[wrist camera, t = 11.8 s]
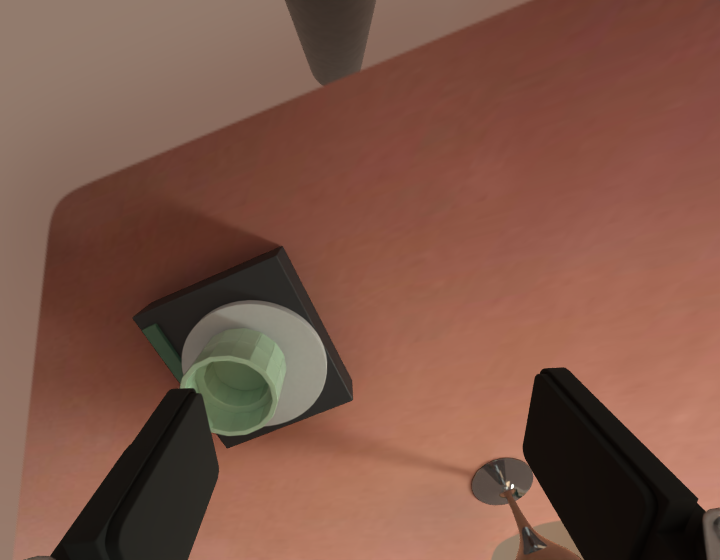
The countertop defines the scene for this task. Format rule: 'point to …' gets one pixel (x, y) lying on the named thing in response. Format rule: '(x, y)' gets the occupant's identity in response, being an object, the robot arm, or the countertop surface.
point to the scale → (259, 313)
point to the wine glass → (516, 506)
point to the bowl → (238, 380)
